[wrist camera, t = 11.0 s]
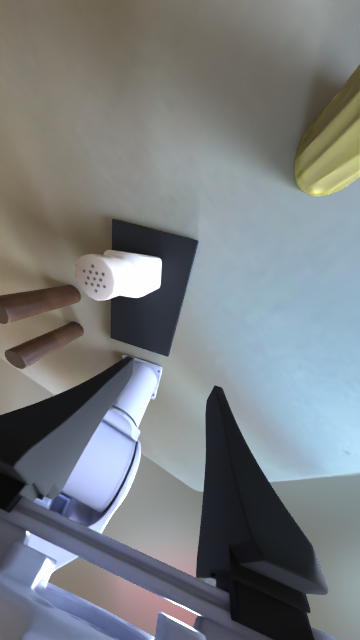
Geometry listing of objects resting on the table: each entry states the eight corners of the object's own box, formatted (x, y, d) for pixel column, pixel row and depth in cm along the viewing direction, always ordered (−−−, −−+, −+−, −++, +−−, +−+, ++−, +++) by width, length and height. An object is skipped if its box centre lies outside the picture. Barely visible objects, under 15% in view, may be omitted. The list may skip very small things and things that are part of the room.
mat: (168, 354, 24) (168, 356, 23) (112, 336, 24) (110, 338, 24) (198, 241, 16) (198, 240, 15) (115, 220, 17) (112, 218, 16)
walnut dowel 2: (84, 337, 26) (27, 371, 18) (70, 333, 26) (8, 364, 18) (83, 324, 24) (21, 354, 16) (68, 319, 25) (1, 347, 17)
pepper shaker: (134, 253, 17) (63, 243, 9) (163, 257, 17) (118, 250, 8) (134, 284, 19) (75, 301, 10) (161, 288, 18) (122, 310, 10)
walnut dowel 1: (81, 304, 23) (11, 327, 15) (66, 299, 23) (-12, 319, 15) (79, 287, 22) (3, 302, 13) (63, 283, 22) (-22, 294, 14)
